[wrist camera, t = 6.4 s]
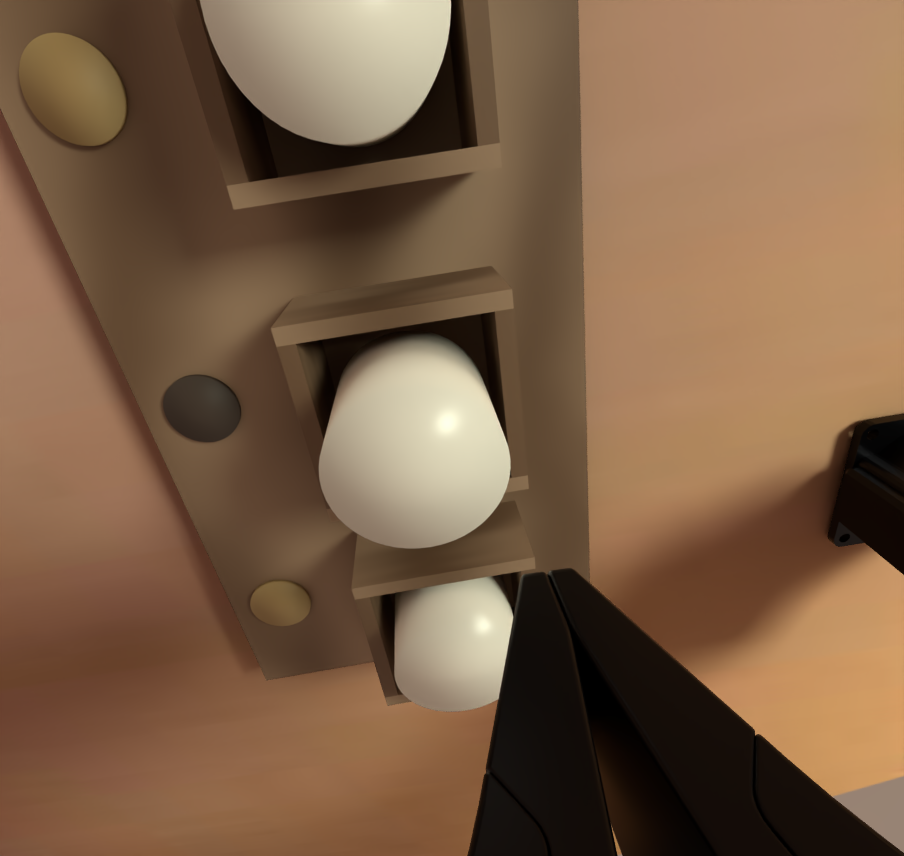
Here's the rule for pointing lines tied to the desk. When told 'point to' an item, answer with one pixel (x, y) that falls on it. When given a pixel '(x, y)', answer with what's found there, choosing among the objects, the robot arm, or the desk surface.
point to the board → (319, 289)
